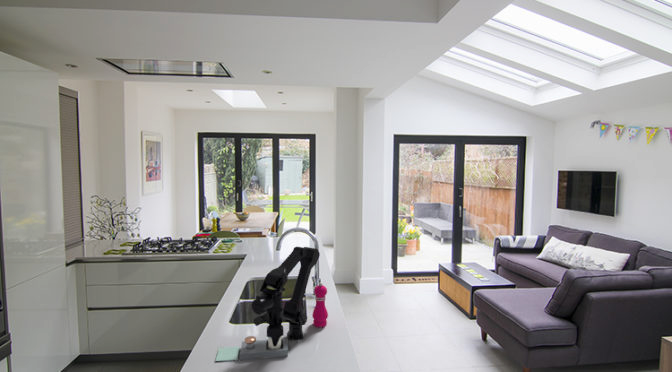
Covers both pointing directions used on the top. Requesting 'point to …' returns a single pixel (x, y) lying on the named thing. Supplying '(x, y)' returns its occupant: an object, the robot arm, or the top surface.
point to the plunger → (250, 342)
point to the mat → (227, 354)
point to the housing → (263, 350)
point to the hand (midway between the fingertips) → (274, 342)
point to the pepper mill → (320, 306)
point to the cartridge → (270, 344)
